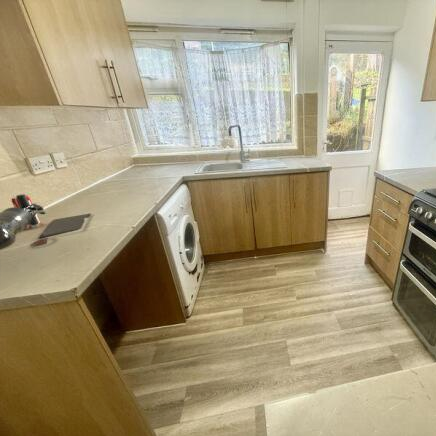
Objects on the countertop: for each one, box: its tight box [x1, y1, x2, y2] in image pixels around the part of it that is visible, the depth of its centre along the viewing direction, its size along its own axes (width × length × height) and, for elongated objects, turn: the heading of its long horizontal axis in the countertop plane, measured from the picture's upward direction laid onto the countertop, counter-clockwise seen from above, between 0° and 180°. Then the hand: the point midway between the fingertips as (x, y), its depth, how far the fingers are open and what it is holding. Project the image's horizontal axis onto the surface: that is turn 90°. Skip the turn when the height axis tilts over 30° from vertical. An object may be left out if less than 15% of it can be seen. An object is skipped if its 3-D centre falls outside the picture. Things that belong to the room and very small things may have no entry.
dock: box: [30, 237, 49, 247], centre depth 100 cm, size 7×7×1 cm
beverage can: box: [11, 194, 42, 230], centre depth 112 cm, size 6×6×15 cm
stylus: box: [15, 193, 41, 229], centre depth 94 cm, size 2×2×13 cm
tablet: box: [38, 213, 92, 240], centre depth 115 cm, size 15×22×1 cm
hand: (29, 206), depth 96 cm, fingers closed on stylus, 2 cm apart
